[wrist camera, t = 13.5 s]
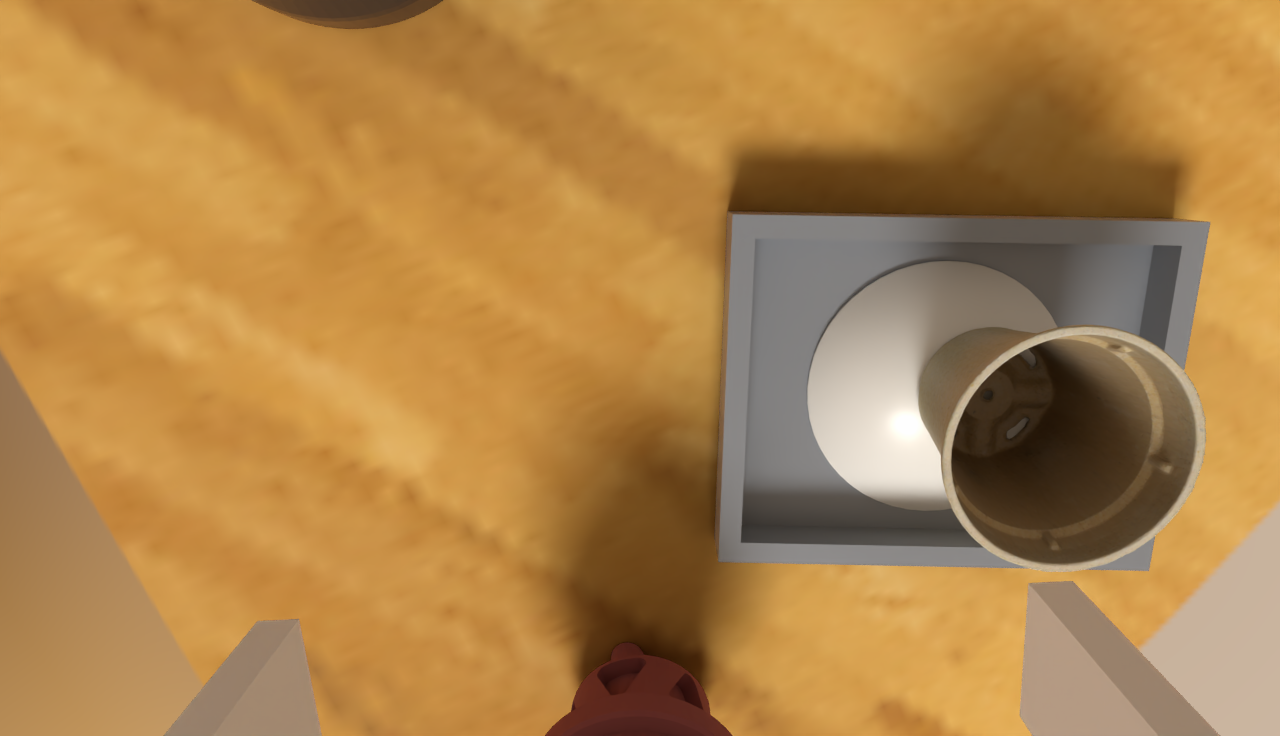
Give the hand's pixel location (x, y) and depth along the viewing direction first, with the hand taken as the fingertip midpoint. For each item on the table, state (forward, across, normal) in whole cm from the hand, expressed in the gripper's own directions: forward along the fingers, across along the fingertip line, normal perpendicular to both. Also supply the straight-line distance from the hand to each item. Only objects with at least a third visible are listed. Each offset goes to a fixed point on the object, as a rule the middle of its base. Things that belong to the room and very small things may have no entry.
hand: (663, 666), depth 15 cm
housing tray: (+25, +13, -3) cm, 28 cm away
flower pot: (+24, +15, -3) cm, 29 cm away
